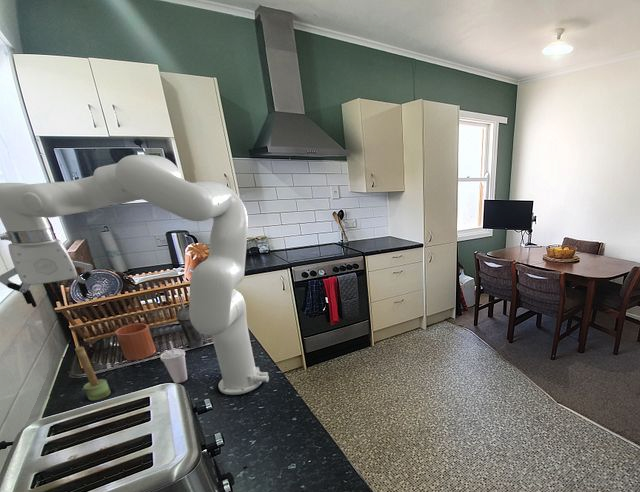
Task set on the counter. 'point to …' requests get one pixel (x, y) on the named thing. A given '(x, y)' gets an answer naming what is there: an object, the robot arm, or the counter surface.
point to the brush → (92, 378)
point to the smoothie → (175, 363)
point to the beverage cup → (188, 327)
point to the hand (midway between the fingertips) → (60, 300)
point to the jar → (135, 341)
